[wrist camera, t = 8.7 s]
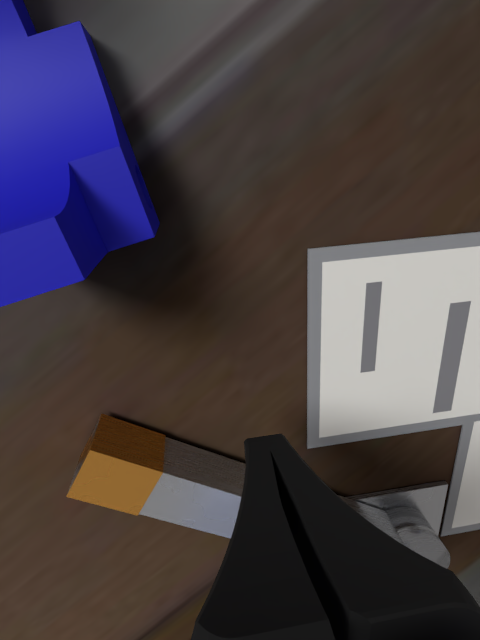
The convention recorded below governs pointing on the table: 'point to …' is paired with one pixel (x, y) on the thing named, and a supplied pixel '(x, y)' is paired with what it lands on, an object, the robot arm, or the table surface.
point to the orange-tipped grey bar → (200, 486)
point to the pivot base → (411, 500)
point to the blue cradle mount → (61, 160)
